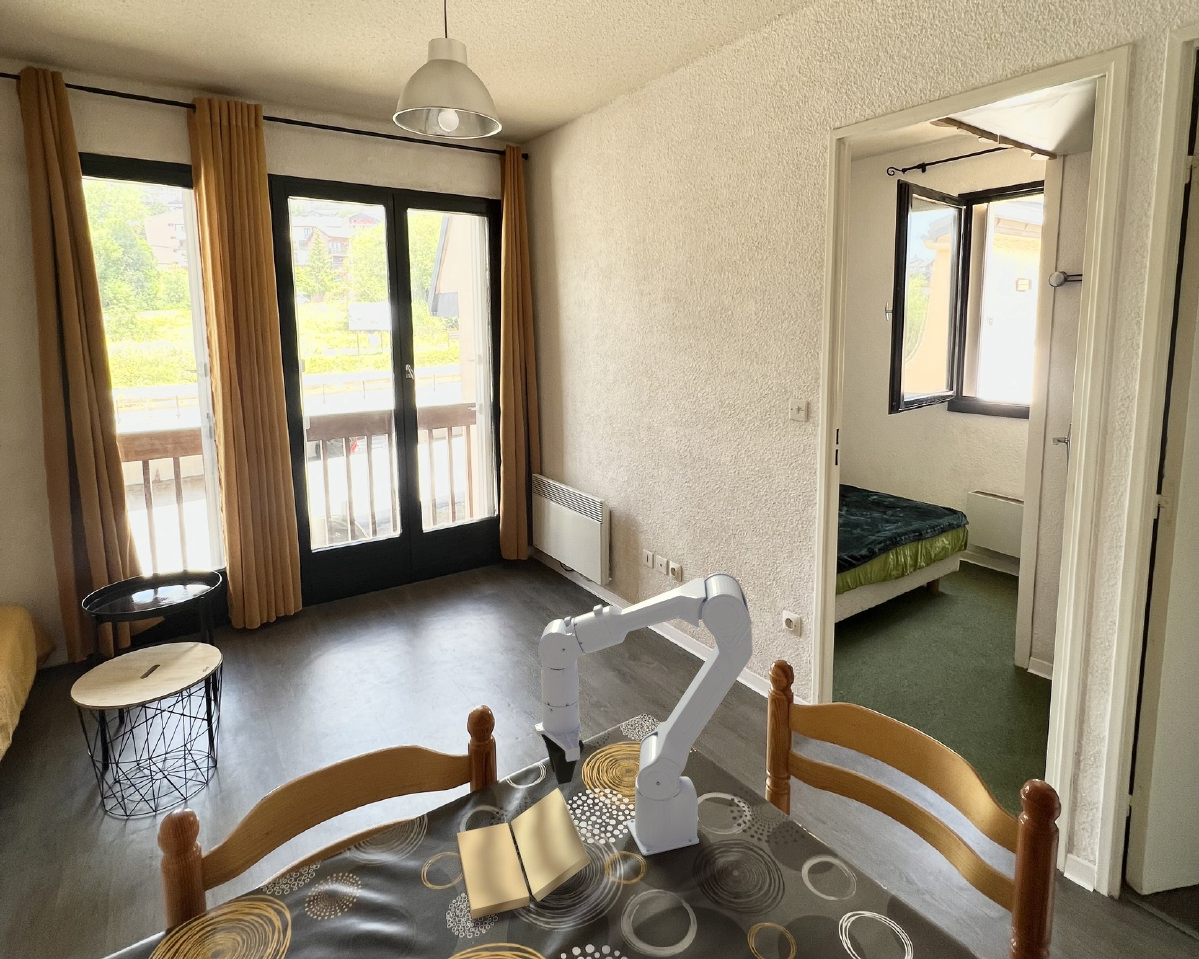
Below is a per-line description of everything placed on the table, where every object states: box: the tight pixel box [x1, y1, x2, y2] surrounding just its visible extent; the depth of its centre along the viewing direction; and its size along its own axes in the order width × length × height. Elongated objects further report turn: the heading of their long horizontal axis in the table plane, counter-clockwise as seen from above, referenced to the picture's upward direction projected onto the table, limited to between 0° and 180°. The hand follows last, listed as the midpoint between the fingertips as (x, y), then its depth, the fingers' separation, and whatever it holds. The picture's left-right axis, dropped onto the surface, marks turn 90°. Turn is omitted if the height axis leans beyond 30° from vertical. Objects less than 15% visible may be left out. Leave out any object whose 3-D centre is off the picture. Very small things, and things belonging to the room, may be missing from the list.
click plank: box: [510, 787, 592, 902], centre depth 113 cm, size 9×16×2 cm, turn 15°
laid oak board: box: [456, 822, 530, 920], centre depth 111 cm, size 8×16×2 cm, turn 18°
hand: (561, 775), depth 118 cm, fingers open, 3 cm apart
